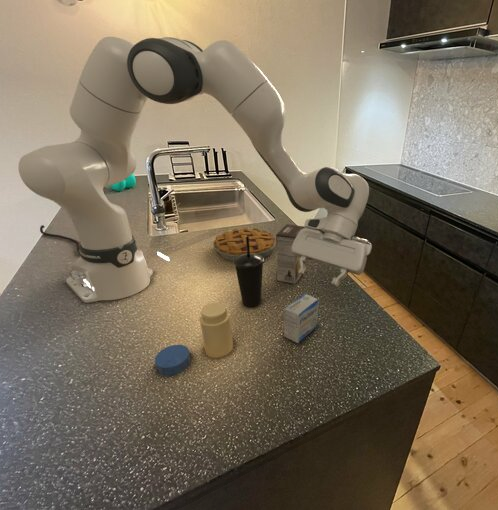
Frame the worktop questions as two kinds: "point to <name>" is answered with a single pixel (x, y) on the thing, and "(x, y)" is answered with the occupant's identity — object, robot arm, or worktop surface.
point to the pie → (244, 243)
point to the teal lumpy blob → (124, 183)
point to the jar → (216, 329)
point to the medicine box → (300, 318)
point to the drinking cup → (249, 276)
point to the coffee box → (287, 254)
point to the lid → (172, 359)
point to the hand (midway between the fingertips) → (317, 280)
